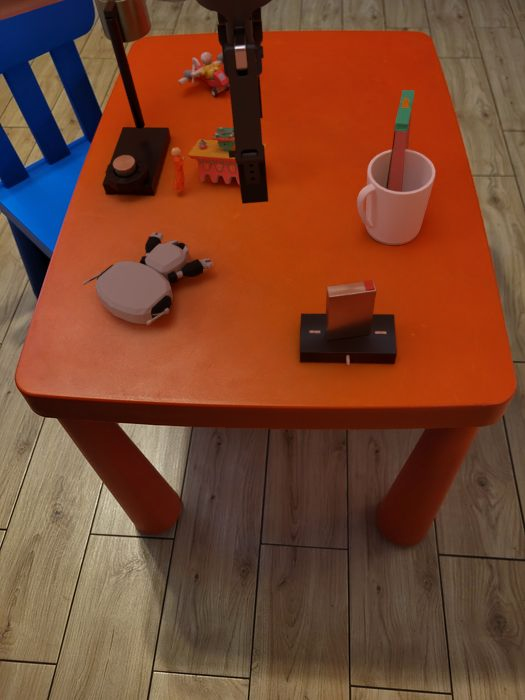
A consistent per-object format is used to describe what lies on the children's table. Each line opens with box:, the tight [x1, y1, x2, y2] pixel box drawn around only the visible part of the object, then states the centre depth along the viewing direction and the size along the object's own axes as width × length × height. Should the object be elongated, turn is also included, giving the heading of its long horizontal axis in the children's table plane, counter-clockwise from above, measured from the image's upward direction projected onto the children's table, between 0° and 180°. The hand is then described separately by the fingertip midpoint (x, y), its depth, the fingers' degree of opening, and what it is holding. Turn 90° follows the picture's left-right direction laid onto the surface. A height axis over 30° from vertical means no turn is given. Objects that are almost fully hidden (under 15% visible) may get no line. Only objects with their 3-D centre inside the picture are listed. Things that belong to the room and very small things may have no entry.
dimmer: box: [299, 313, 398, 366], centre depth 78 cm, size 12×10×3 cm
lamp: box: [94, 0, 152, 129], centre depth 95 cm, size 10×7×19 cm
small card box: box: [325, 279, 377, 340], centre depth 73 cm, size 6×2×9 cm, turn 97°
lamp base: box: [102, 126, 172, 197], centre depth 99 cm, size 16×8×4 cm, turn 174°
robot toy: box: [81, 231, 214, 326], centre depth 85 cm, size 12×4×15 cm
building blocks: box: [170, 89, 415, 192], centre depth 90 cm, size 12×35×14 cm, turn 76°
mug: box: [356, 148, 436, 246], centre depth 85 cm, size 11×9×10 cm
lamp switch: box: [113, 155, 137, 178], centre depth 94 cm, size 3×3×2 cm
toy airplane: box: [177, 51, 230, 98], centre depth 109 cm, size 9×9×6 cm
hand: (252, 156), depth 67 cm, fingers open, 13 cm apart
